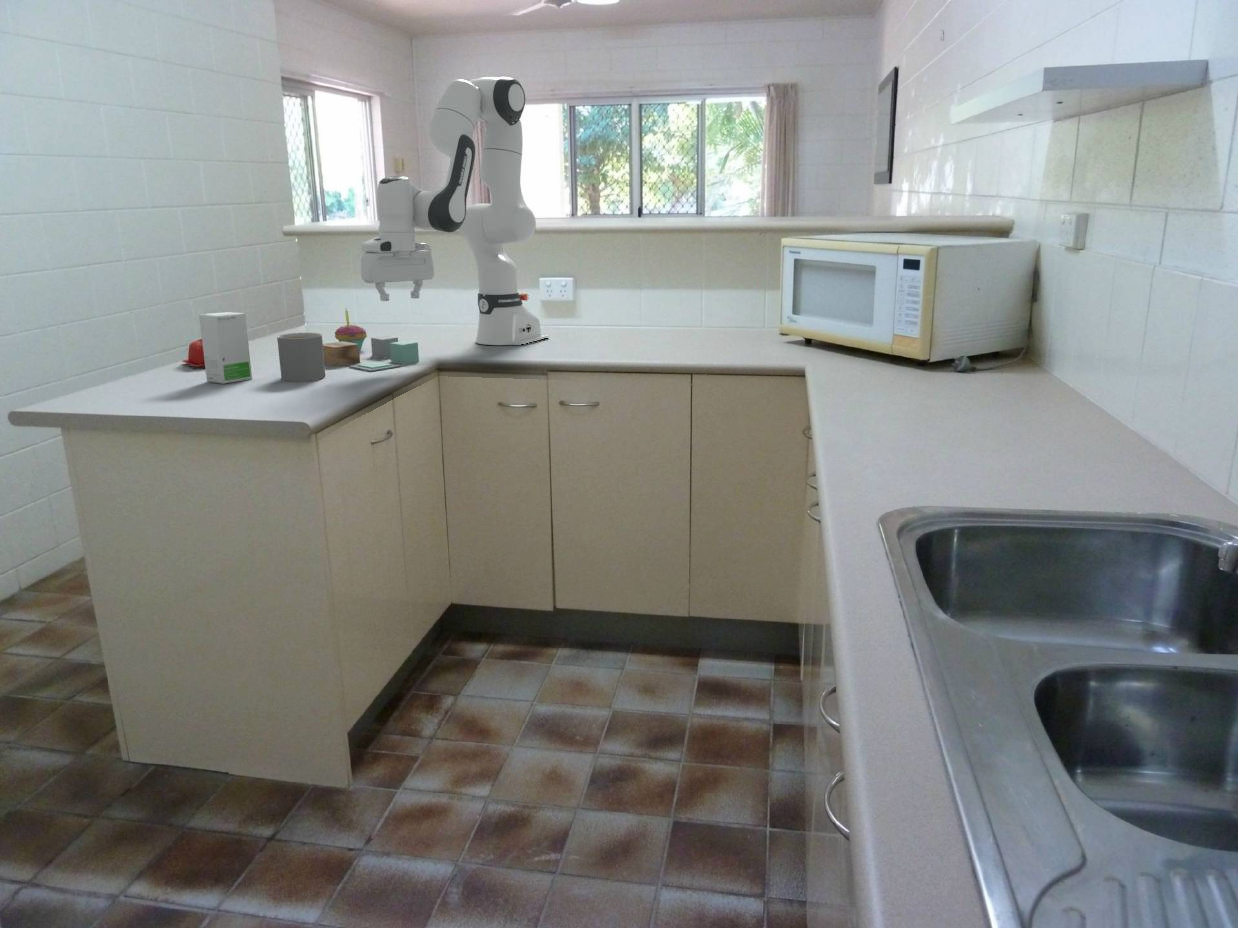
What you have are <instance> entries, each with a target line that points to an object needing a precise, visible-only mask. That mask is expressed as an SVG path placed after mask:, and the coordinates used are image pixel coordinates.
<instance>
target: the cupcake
mask: <svg viewBox="0 0 1238 928" xmlns="http://www.w3.org/2000/svg"><path fill="white" fill-rule="evenodd" d="M344 312H345V320H346V325H343V326H340V327H339V328H337V329H336V330H335V331H334V338H335V339H336V340H337V341H338V342H342V341H344V342H349V343H355V344H359V352H361V351H362V347H363V344H364V341H365V339H366V338H367V331H366V330H365V329H364V328H363V327H360V326H358V325H355V324H350V318H349V311H348V310H347V308H345V311H344Z"/></svg>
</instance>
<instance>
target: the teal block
mask: <svg viewBox="0 0 1238 928" xmlns="http://www.w3.org/2000/svg"><path fill="white" fill-rule="evenodd" d="M390 351H391V357H390V363H394V364H399V365H406V364H407V365H408V364H411V363H419V361H420V357H419V343H418V342H416V341H411V340H401V341H398V342H393V343H390Z"/></svg>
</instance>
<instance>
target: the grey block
mask: <svg viewBox="0 0 1238 928" xmlns="http://www.w3.org/2000/svg"><path fill="white" fill-rule="evenodd" d="M393 342H399V337H396V336H390V335H382V336H376V337H375V336H374V337H370V343H371V346H370V347H371V356H372V357H374V356H376V357H375V358H379V357H380V359H387V358H388V357H389V358H391V351H390V343H393ZM389 358H388V359H389Z"/></svg>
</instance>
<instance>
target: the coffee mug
mask: <svg viewBox="0 0 1238 928" xmlns="http://www.w3.org/2000/svg"><path fill="white" fill-rule="evenodd" d="M323 342H324V341H323V335H322V333H318V332H292V333H291V332H290V333H283V334H279V335H277V346H278V347H277V349H278V350H277V351H278V358H279V368H280V376H281V380H282V381H284V382H294V383H303V382H313V381H312V380H314V381H318V379H320V380H322V379H321V378H323V379H325V378H326V377H325V376H326V366H325V365H326V364H324V353H323V344H324V343H323Z"/></svg>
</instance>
